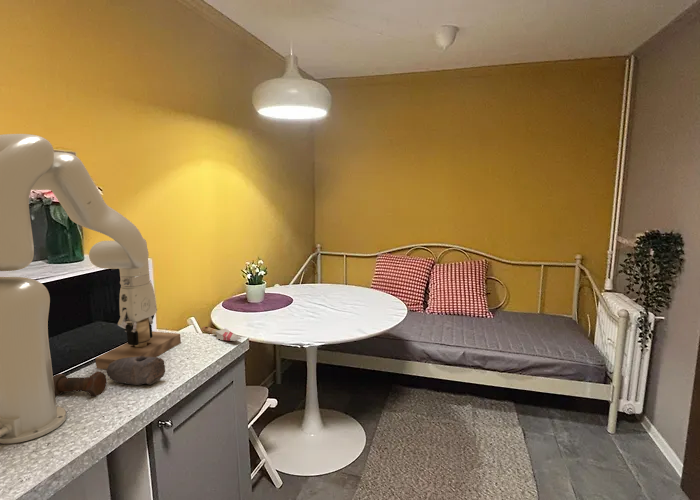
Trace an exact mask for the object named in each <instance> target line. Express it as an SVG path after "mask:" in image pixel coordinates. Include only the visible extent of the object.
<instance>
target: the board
mask: <svg viewBox="0 0 700 500" xmlns="http://www.w3.org/2000/svg"><path fill="white" fill-rule="evenodd" d="M181 338H182V337H181V333H178V332H177V333H176V332H162V331H153V330H152V338H150V340H149V341H147V346H145V347H143V348H135V345H129V344H128V341H127V342H125V343H124V344H121V345H119V346H117V347H115V348H112V349H111V350H109V351H107V352H104V353H102V354H100V355H99V356H96V357H95V367H96V369H97V370H98V369H99V370H106V371H107V368H108V365H109V364H110V363H111V362H113V361H115V360H118V359H122V358H128V357H139V356H145V357H159V356H161V355H162V354H164V353H166V352H167V351H169V350H171V349H173V348H174V347H176V346H178V345H179V344H181V343H182V341H181Z"/></svg>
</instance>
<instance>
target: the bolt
mask: <svg viewBox="0 0 700 500" xmlns="http://www.w3.org/2000/svg"><path fill="white" fill-rule="evenodd" d="M53 381H54V389H55V396H60V395H62V394H64V393H65V392H66V393H67V392H87V394H88V395H89V396H90V397H95V398H96V397H98V396H100V395H102V394H103V393H104V391H105V390H106V388H107V376H106V374H105V373H104V372H103V371H95V372H94V373H92V374H91V375H89V376H87V377H81V376H80V377H79V376H77V377H67V376H66V375H65V374H64V373H57V374H55V375H53Z"/></svg>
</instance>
